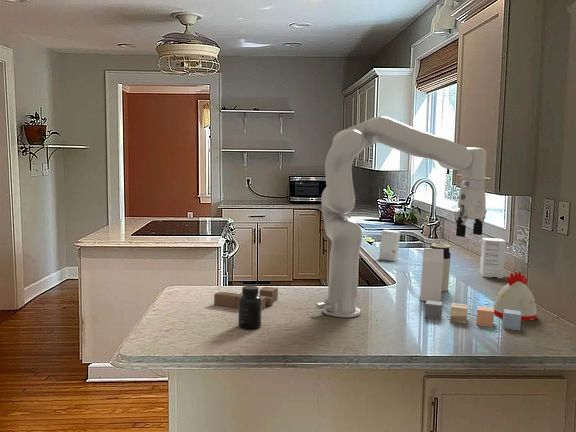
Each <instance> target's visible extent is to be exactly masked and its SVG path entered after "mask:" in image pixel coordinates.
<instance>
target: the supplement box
mask: <svg viewBox="0 0 576 432" xmlns="http://www.w3.org/2000/svg"><path fill="white" fill-rule="evenodd" d="M506 245H507V241H506V240H504V239H502V238H495V237H494V238H492V237H481V246H480V247H481V249H480V250H481V251H480V260H479V261H480V262H479V273H478V274H480V276H481V277H483V278H492V277H497V278H496V279H504V272H505V271H504V270H505V260H506V247H507V246H506Z"/></svg>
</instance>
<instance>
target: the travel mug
mask: <svg viewBox="0 0 576 432" xmlns="http://www.w3.org/2000/svg"><path fill="white" fill-rule="evenodd" d="M430 246H431V249H443V250H444V252H443V276H442V290H441V293H442V292H447V291H449V281H450V268H451V267H450V265H451V252H450V248H451V245H449V244H445V243H431V245H430Z"/></svg>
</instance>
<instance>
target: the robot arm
mask: <svg viewBox="0 0 576 432" xmlns="http://www.w3.org/2000/svg"><path fill="white" fill-rule="evenodd" d="M375 144H381V145H384V146H386V147H388V148H389V147H390V148H392V149H395V150H397V151H400V152H402V153H404V154H407V155H410V156H413V157H417V158H425V159H430V160H433V161H436V162H437V163H438V165H439V166H440V167H442V168H444V169H446V170H455V171H457V170H458V171H461V176H460V190H459V195H458V201H457V209H455V210H454V211H453V215H454V221H455V224H456V229H455V230H456V231H455V235H456V237H459V238H460V237H462V238H465V237H466V232H467V231H466V230H467V229H466V228H467V226H466V223H467V220H473V221H474V222H473V227H472V229H473V230H472V234H473V235H476V236H482V235H483V227H484V226H483V224H484V223H485V221H484V220H485V219H486V215H487V208H486V191H485V180H486V166H487V165H486V164H487V151H486V149H485V148H482V147H466V146H465V145H462V144H459V143H457V142H454V141H453V140H451V139H450V140H449V139H447V138H444V137H441V136H437V135H434V134H431V133H429V132H428V131H427V132H426V131H423V130H421V129H418V128H415V127H412V126H410V125H407V124H405V123H403V122H400V121H397V120H396V119H393V118H391V117H389V116H382V115H381V116H375V117H372V118H370V119H367V120H365V121H363V122H360V123H358V124H355V125H352V126H350V127H348V128H345V129H343V130H341V131H338V132H337V133H336V134H335V136H333V140H332V144H331V147H330V148H329V149H328V152H327V155H326V157H325V162H324V163H325V164H324V169H325V170H324V173H325V175H324V176H325V184H326V187H324V189H323V191H322V193H321V201H320V202H321V203H320V204H321V210H322V218H323V225H324V231H325V234H326V236H327V237H328V239H329V240H330V241H331V246H330V250H329V251H330V253H329V264H328V265H329V266H328V267H329V269H328V271H329V272H328V284H327V285H328V287H327V288H328V290H327V298H325V299H324V301H323V302H317V303H315V309H316V310H321V309H322V312H323V313H324V314H325V315H327V316H331V317H336V318H355V317H359V316H360V315H361V313H362V310H361V309H360V308H359V307H357V302H358V301H357V300H358V299H357V298H358V282H359V281H358V280H359V264H360V263H359V262H360V250H361V245H362V239H363V234H362V233H363V232H362V228H361V226H360V225H359V223H358V222H357V221H356V220H354V219H353V218H352V217H351V211H353V210H354V208H355V205H356V194H355V190H354V189H355V188H354V181H353V172H352V171H353V170H352V169H353V162H354V160H355V159H356V157H357V156H358V155H360V154H361V153H362V151H363V150H364V149H367V148H369V147H370V146H372V145H375Z"/></svg>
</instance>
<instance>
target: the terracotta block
mask: <svg viewBox="0 0 576 432" xmlns="http://www.w3.org/2000/svg"><path fill="white" fill-rule="evenodd" d="M494 317H495V315H494V308H493V307H489V306H481V305H480V306H479V305H477V309H476V323H475V324H476V326H483V327H491V328H493V327H494V319H495V318H494Z"/></svg>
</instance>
